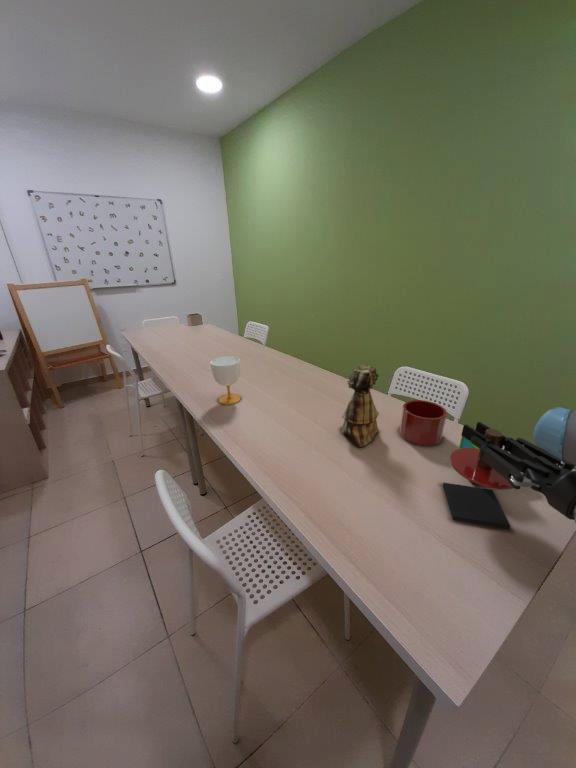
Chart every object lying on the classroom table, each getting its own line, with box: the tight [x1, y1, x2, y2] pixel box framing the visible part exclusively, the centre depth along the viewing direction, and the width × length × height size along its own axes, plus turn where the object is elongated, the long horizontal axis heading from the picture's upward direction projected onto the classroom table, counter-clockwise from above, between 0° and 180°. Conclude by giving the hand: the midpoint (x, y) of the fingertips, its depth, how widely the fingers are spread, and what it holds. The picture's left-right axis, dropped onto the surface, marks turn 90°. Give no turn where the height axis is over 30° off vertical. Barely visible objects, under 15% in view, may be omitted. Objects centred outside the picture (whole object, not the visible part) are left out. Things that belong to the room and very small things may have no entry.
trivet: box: [442, 482, 511, 530], centre depth 70 cm, size 11×11×1 cm
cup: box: [209, 356, 241, 405], centre depth 122 cm, size 12×12×17 cm
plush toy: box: [340, 364, 380, 448], centre depth 95 cm, size 14×14×25 cm
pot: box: [399, 399, 448, 447], centre depth 96 cm, size 13×13×10 cm
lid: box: [449, 428, 514, 490], centre depth 64 cm, size 13×13×10 cm
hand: (470, 428), depth 68 cm, fingers closed on lid, 3 cm apart
